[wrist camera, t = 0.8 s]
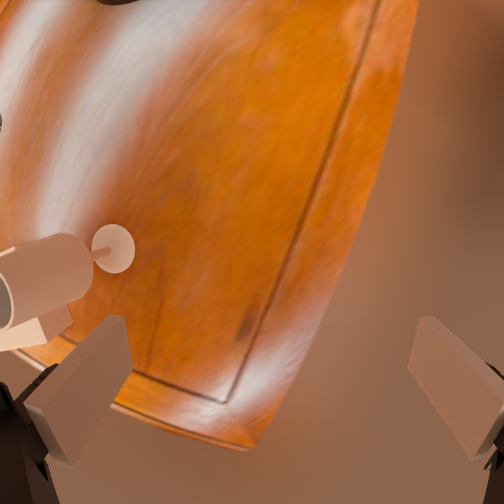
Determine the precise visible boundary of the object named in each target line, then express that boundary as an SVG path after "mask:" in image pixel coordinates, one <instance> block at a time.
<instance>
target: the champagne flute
mask: <svg viewBox="0 0 504 504" xmlns="http://www.w3.org/2000/svg"><path fill="white" fill-rule="evenodd" d="M134 256H135V244H134V241H133V238H132V236H131V235H130V233H129V232H128V231H127V230H126V229H125V228H123V227H122V226H120V225H116V224H109V225H105V226H103V227H101V228H100V229H99V230H98V231H97V232H96V234H95V235H94V237H93V240H92V252H89V250H88V248H87V247H86V246H85V245H84V243H83V242H82V241H81V240H80V239H78V238H77V237H75V236H73V235H71V234H67V233H58V234H54V235H51V236H49V237H46V238H44V239H41V240H39V241H36V242H34V243H31V244H29V245H26V246H24V247H22V248H19V249H17V250H14V251H12V252H10V253H7V254H5V255H3V256H1V257H0V332H2V331H6V330H8V329H10V328H13V327H15V326H17V325H19V324H22V323H24V322H26V321H29V320H31V319H33V318H36V317H38V316H40V315H43V314H45V313H47V312H50V311H52V310H55V309H57V308H59V307H62V306H64V305H66V304H69V303H71V302H74V301H76V300H78V299H80V298H82V297H83V296H84V295H85V294H86V293H87V291H88V290H89V288H90V286H91V284H92V281H93V275H94V266H93V262H94V261H95V262H96V263H97V264H98V266H99V267H100V268H102V269H103V270H104V271H106V272H109V273H120V272H123V271H124V270H126V269H127V268H128V267H129V266H130V265H131V263H132V262H133V259H134Z"/></svg>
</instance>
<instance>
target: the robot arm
mask: <svg viewBox="0 0 504 504" xmlns="http://www.w3.org/2000/svg"><path fill="white" fill-rule="evenodd" d="M97 1H99V2H101V3H104V4H110V5H117V4H124V3H129V2H132V1H136V0H97ZM407 369H408V370H409V371H410V373H411V374H412V376H413V377H414V378H415V380H416V381H417V382H418V384H419V385H420V387H421V388H422V389H423V391H424V392H425V394H426V395H427V397H428V398H429V399H430V401H431V402H432V404H433V405H434V407H435V408H436V409H437V411H438V412H439V414H440V415H441V417H442V418H443V420H444V421H445V423H446V424H447V426H448V427H449V429H450V430H451V432H452V433H453V435H454V436H455V437H456V439H457V440H458V442H459V444H460V445H461V447H462V448H463V450H464V451H465V453H466V454H467V456H468V458H469V459H470V461H473V460H475V459H477V458H480V457H482V456H484V455H486V454H487V452H488V451H489V449H490V448H491V446H492V444H493V443H494V444H495V446H496V447H497V449H496V450H495V452H494V453H493V455H492V457H491V458H490V459H489V461H488V462H487V464H486V465H485V467H484V469H485V470H486V469H487V468H488V466H489V465H490V464H491V463H492V464H491V468H490V475H489V480H488V485H487V489H486V494H485V498H484V501H483V504H504V376H503V375H501V373H500V372H499V371H498V370H497V369H496V368H495V367H493V366H491V365H490V364H488V363H486V362H484V361H482V360H481V359H480V358H479V357H478V356H477V355H476V354H475V353H474V352H473V351H472V350H470V349H469V348H468V347H467V346H466V345H465V344H464V343H463V342H462V341H460V340H459V339H458V338H457V337H456V336H455V335H454V334H453V333H451V332H450V331H449V330H448V329H447V328H446V327H445V326H443V325H442V324H441V323H440V322H439V321H437V320H436V319H435V318H434V317H433V316H432V317H420V318H419V323H418V327H417V332H416V336H415V340H414V344H413V348H412V352H411V356H410V359H409V363H408V367H407ZM132 370H133V363H132V358H131V353H130V347H129V342H128V336H127V330H126V324H125V317H124V316H120V315H108V316H107V317H106V318H105V319H104V320H103V321H102V322H101V323H100V324H99V325H98V326H97V327H96V328H95V329H94V330H93V331H92V332H91V333H90V334H89V335H88V336H87V337H86V338H85V339H84V340H83V341H82V342H81V343H80V344H79V345H78V346H77V347H76V348H75V349H74V350H73V351H72V352H71V353H70V354H69V355H68V356H67V357H66V358H65V359H64V360H63V361H62V362H61V363H60V364H57V363H56V364H54V365H52V366H50V367H48V368H46V369H45V370H44V371H43V372H42V373H41V374H40V375H39V376H38V378H36V379H35V380H34V381H33V382H32V384H30V385H29V386H28V387H27V388H26V389H25V390H24V391H23V392H22V393H21V394H20V396H19V397H18V398H17V399H16V400H15V401H13V399H12V396H11V394H10V392H9V389H8V387H7V385H5V384H4V383H3V382H0V504H60V503H59V500H58V497H57V494H56V491H55V488H54V485H53V482H52V478H51V475H50V471H49V468H48V464H47V462H46V461H45V459H44V458H45V457H46V455H47V454H48V452H49V453H50V455H51V457H52V458H53V460H54V462H55V463H57V464H60V465H62V466H65V467H68V468H70V469H74V468H75V466H76V464H77V462H78V460H79V459H80V457H81V455H82V453H83V452H84V450H85V448H86V446H87V445H88V443H89V441H90V440H91V438H92V436H93V434H94V433H95V431H96V429H97V427H98V426H99V424H100V422H101V421H102V419H103V417H104V416H105V414H106V412H107V411H108V409H109V407H110V406H111V404H112V402H113V401H114V399H115V397H116V396H117V394H118V393H119V391H120V389H121V388H122V386H123V384H124V383H125V381H126V379H127V378H128V376H129V375H130V373H131V371H132Z"/></svg>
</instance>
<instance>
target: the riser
mask: <svg viewBox="0 0 504 504" xmlns="http://www.w3.org/2000/svg"><path fill="white" fill-rule="evenodd" d="M35 242H36V241H35ZM31 243H34V242H30V243H26V244H21V245H17V246H14V247H11V248H9V249H7V250H5V251H3V252H1V253H0V257H1V256H3V255H5V254H7V253H10V252H12V251H14V250H17V249H19V248H22V247H24V246H26V245H29V244H31ZM72 323H74V320H73V318H72V315H71V313H70V310H69V307H68V305H67V304H66V305H64V306H62V307H59V308H57V309H55V310H52V311H50V312H47V313H45V314H43V315H40V316H38V317H36V318H33V319H31V320H29V321H26V322H24V323H22V324H19V325H17V326H15V327H13V328H10V329H8V330H6V331H2V332H0V351H6V350H12V349H18V348H23V347H29V346H34V345H40V344H45V343H48V342H50V341H51V340H52V339H53V338H55V337H56V336H57V335H58V334H60V333H61V332H62V331H63V330H65V329H66V328H67V327H69V326H70V325H71V324H72Z"/></svg>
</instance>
